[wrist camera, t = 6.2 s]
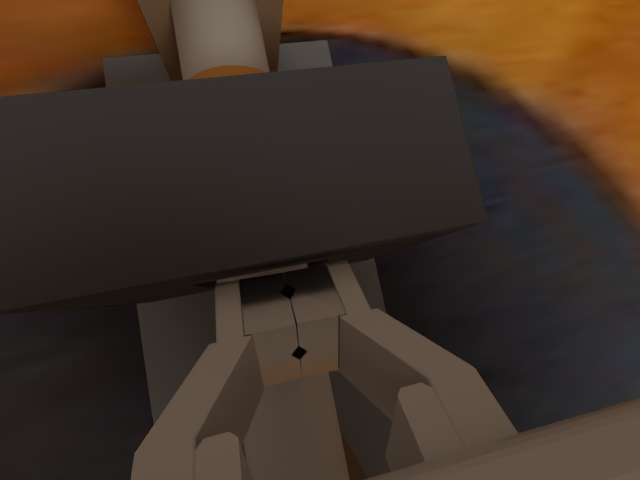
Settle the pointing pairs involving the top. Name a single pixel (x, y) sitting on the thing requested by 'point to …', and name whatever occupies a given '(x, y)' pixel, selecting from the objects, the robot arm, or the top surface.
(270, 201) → the collar
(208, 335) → the pipe rig
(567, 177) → the top surface
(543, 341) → the top surface
